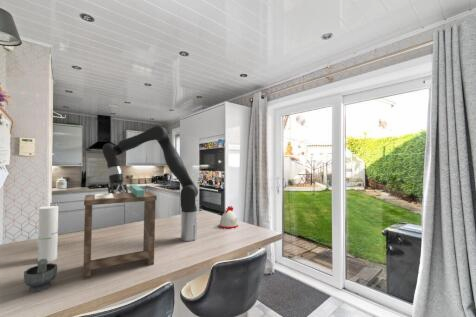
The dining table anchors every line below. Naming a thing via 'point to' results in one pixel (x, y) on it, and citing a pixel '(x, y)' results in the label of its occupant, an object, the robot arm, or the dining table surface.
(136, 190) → the teal square bar
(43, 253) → the cylindrical container
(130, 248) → the dining table surface
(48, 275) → the mortar and pestle
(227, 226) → the kitchen timer
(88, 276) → the stand
